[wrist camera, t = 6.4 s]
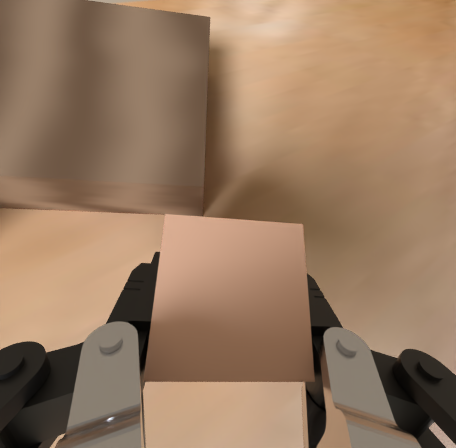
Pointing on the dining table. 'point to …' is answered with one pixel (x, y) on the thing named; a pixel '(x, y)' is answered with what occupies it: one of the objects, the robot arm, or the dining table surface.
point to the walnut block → (102, 107)
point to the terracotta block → (230, 303)
